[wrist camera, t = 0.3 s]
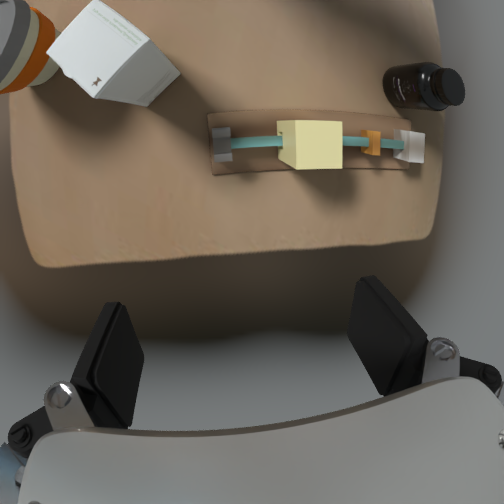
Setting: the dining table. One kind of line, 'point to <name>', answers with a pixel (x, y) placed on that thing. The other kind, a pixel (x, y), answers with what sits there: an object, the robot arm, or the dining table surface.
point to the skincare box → (112, 57)
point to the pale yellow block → (310, 144)
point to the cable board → (353, 124)
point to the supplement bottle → (423, 86)
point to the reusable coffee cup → (24, 46)
